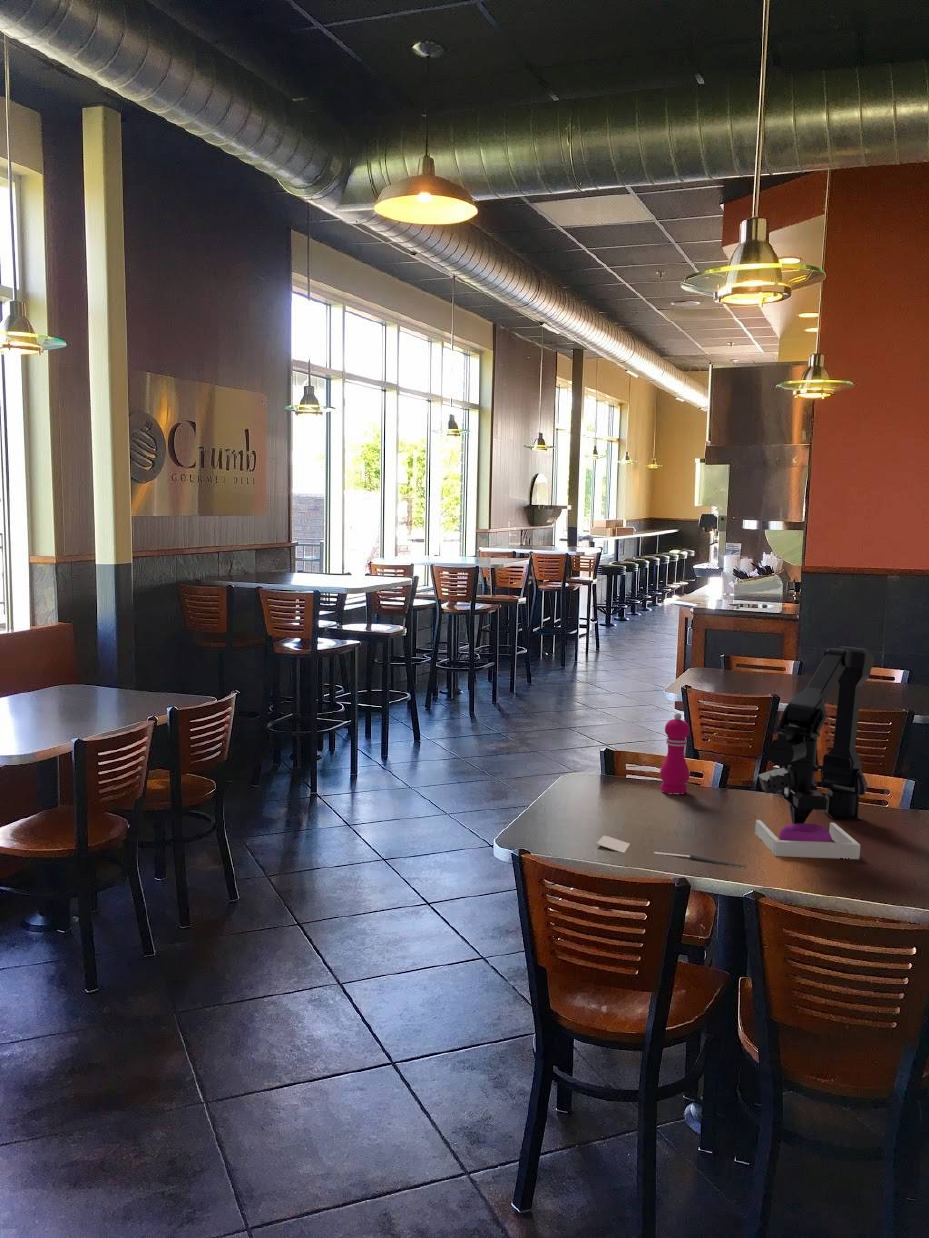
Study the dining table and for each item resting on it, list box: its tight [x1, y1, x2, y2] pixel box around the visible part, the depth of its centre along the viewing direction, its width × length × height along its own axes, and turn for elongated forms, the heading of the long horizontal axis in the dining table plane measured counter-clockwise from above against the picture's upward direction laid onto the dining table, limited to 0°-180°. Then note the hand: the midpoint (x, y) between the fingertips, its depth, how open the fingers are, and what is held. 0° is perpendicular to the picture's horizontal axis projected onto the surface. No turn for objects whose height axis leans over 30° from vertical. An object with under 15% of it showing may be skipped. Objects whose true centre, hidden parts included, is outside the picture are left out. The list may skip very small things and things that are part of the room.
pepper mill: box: [659, 712, 690, 794], centre depth 241 cm, size 7×7×20 cm
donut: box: [779, 822, 833, 842], centre depth 203 cm, size 10×10×5 cm
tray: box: [754, 819, 861, 860], centre depth 203 cm, size 17×14×3 cm
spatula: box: [596, 835, 747, 868], centre depth 195 cm, size 6×29×2 cm, turn 67°
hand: (796, 829), depth 209 cm, fingers closed
